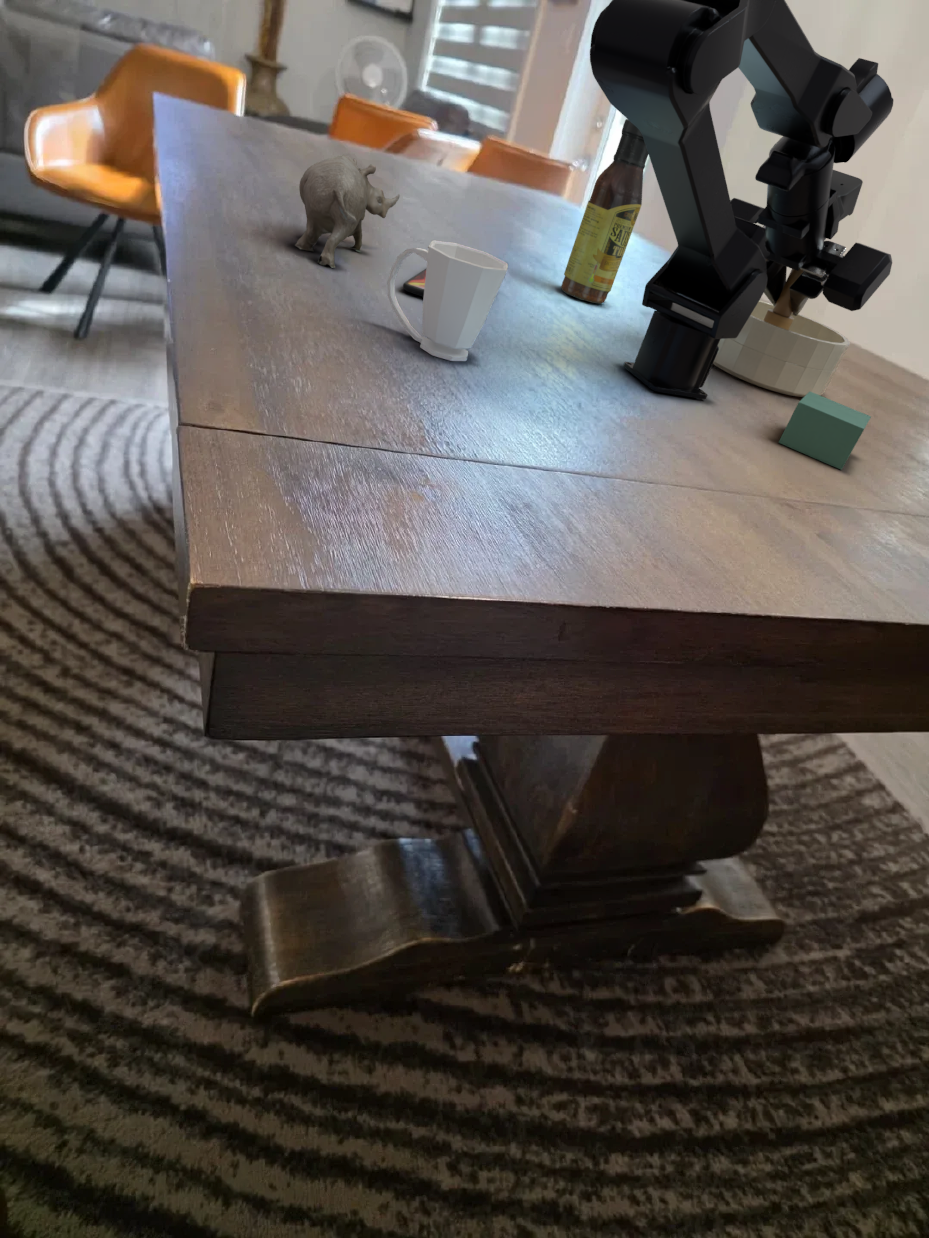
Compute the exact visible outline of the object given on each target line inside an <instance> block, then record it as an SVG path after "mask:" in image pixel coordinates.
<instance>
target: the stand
mask: <svg viewBox="0 0 929 1238" xmlns="http://www.w3.org/2000/svg"><path fill="white" fill-rule="evenodd" d="M871 418H872V416H871V415H869V414H866V413H864V412H861V411H859V410H856V409H854V408H851V407H849V406H847V405H844V404H842V403H840V402H837V401H834V400H832V399H830V398H827V397H824V396H822V395H818V394H815V393H813V392H808V393H807V394H806V395H805V396H804V397H801V399H800V400H799V401H798V403H797V404H796V406H795V409H794V410H793V412H792V414H791V416H790V418H789V421H788V422H787V424H786V427H785V429H784V431H782V435H781V436H780V439H779V440H778V444H780V445H783V446H785V447H787V448H790V449H792V450H794V451H796V452H799V453H801V454H804V455H806V456H808V457H811V458H812V459H815V460H817V461H819V462H822V463H824V464H827V465H829V466H831V467H833V468H836V469H838V470H840V471H842V470H843V469H844V466H845V464H846V463H847V461H848V459H849V457H850V456H851V454H852V452H853V451H854V448H855V447H856V445H857V443H858V442H859V440H860V438H861V436H862V434H863V432H864V430H865V429H866V427H867V425H868V423H869V421H870V420H871Z"/></svg>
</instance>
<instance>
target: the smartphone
mask: <svg viewBox="0 0 929 1238" xmlns="http://www.w3.org/2000/svg"><path fill="white" fill-rule="evenodd" d="M425 279H426V268H424V269H423V270H421V271H420V272H419V273H417V274H415V275H414V276H412V277H411V278H409V279H408V280H406V281H405V282H404V283H403V285H402V288H403V290H404V291H405V292H407V293H410V294H413V295H417V296H420V297H422V298H423V297H424V288H425Z"/></svg>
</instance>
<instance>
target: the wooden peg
mask: <svg viewBox="0 0 929 1238" xmlns="http://www.w3.org/2000/svg"><path fill="white" fill-rule="evenodd" d="M803 272H804V271H803V270H800V269H799V271H797V270H794V269H792V268H791V269H790V272H789V274H788V276H787V277H786V283H785V285H784V287H783V289H782V291H781V294H780V296H779V298H778V300H777V302H776V305H775V307H774V309H773V310H772V309H768V311H767V313H766V315H765V318H764V320H763V321H765V322H768V323H770V324H773V325H775V326H778V327H780V328H783V329H786V330H789V328H790V326H791V324H792V322H793V320H794V318H793V317H791V316H790V315H791V313H792V310H791V301H790V290H789V288H790V287H791V285H792V284H793V283H794V282H795V281H796V280H797V279H798V277H799V276H800V275H801V274H802V273H803Z"/></svg>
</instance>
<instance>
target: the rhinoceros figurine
mask: <svg viewBox="0 0 929 1238" xmlns="http://www.w3.org/2000/svg"><path fill="white" fill-rule="evenodd" d="M376 170H377V167H376V165H374V164H369V165H368V166H367V167H365V168H360V167H358V161H357V159H356V158H351V157H350V156H348V155H347V154H342V155H337V156H333V157H330V158H329V157H328V158H326V159H323V160H320V161H318V162H315V163H313V164H312V165H310V166H309V167H308V168H307V169H306V170H305V171H304V173H303V174H302V177H300V180H299V185H298V186H299V189H298V190H299V196H300V199H301V202H302V203H303V205H304V210H305V215H306V224H305V226H306V227H305V231H304V233H303V234H302V235H301V236H300V237H299V238H298V239H297V241H296V243H295V244H294V246H295V247H296V248H298V249H299V250H303V251H310V252H315V250H314V246H315V245H316V244H317V243H318V241H319V239H320V237H322V235H326V234H330V235H328V237H327V240H326V242H325V245H324V247H323V250H322V252H321V254H320V256H319V258H318V261H317V263H318V264H319V265H321V266H326V265H328V266H329V267H330V268H333V269H336V265H335V251H336V248H337V247H338V246H339V244H341V243H342V242H344V240H346V239H347V238H350V237H353V240H354V244H353V245H352V246H349V249H354V250H355V251H356V252H357V253H362V251H361V247H362V245H363V242H362V241H363V229H362V228H363V227H362V221H364V220H365V217H366V211H367V212H368V213H369V214H371V215H374V216H379V217H380V218H382V219H385V218H386V217H387V214H388V212H389V209H391V208H393V207H394V206H395V205H396V204H397V203H398V201H399V199H400V197H401V194H400V193H398V194H397V195H396V196H395V197H392V198H387V197H386V196H385V195H384V194H385V193H384V190H383V189H382V188H380V187H375V186H373V185H372V184H371V183H370V180H369V177H368V176H370V175H374V174H375V172H376Z"/></svg>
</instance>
